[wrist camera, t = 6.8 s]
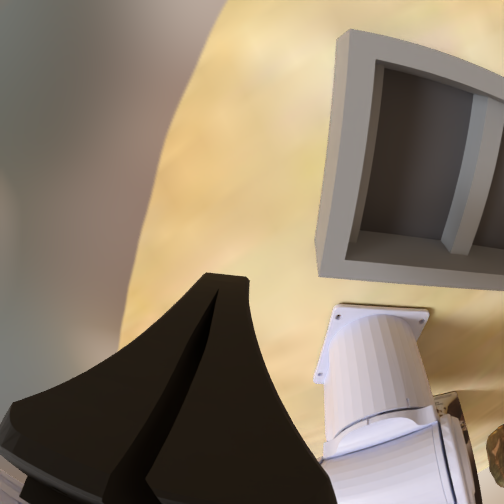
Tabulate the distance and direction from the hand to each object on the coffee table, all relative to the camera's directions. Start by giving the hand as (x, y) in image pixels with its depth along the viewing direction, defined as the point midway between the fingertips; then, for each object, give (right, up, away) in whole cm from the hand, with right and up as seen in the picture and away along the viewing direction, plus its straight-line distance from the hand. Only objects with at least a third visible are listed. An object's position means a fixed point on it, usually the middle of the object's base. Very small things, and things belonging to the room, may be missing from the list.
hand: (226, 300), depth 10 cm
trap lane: (+20, +6, +6) cm, 22 cm away
